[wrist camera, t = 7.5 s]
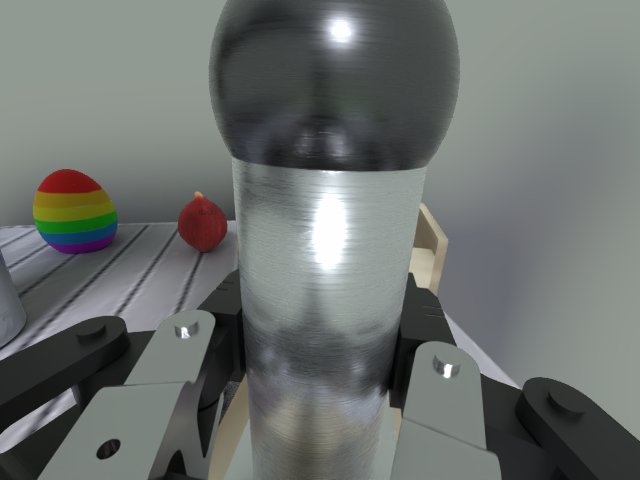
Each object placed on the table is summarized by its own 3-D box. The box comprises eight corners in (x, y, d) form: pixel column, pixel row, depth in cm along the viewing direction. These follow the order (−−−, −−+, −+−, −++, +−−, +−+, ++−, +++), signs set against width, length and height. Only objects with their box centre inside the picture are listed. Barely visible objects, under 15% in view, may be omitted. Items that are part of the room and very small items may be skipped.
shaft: (203, 568, 9) (52, -156, 3) (298, 314, 21) (302, 64, 16) (400, 619, 8) (664, -214, 2) (382, 325, 21) (420, 66, 15)
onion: (233, 243, 42) (229, 187, 39) (222, 261, 36) (216, 198, 33) (191, 242, 42) (184, 186, 39) (174, 260, 36) (164, 196, 33)
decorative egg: (35, 263, 34) (4, 176, 30) (56, 238, 41) (32, 165, 37) (118, 252, 38) (100, 173, 34) (125, 232, 44) (110, 164, 41)
